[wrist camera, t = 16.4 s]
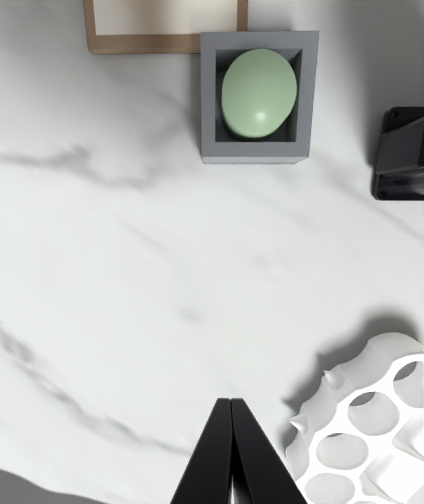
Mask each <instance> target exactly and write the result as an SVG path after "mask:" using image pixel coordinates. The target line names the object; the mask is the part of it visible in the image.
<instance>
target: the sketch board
mask: <svg viewBox="0 0 424 504" xmlns="http://www.w3.org/2000/svg"><path fill="white" fill-rule="evenodd" d="M83 1H84V12H85V23H86V33H87V44H88V50H89V51H90V52H91V53H92V54H157V53H201V32H247V11H248V0H83Z"/></svg>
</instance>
